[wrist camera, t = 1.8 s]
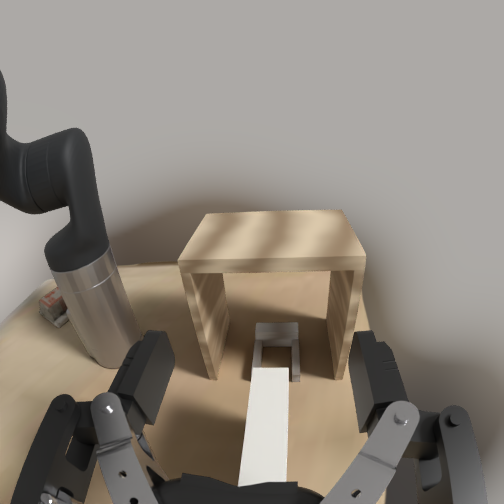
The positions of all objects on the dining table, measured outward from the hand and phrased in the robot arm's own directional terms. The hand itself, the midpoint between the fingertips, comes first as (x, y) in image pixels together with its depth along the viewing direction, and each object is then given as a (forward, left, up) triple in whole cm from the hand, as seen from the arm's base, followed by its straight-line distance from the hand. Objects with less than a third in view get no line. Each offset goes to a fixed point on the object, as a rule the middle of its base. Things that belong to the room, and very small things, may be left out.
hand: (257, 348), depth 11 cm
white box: (0, +1, -22) cm, 22 cm away
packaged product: (-43, +30, -23) cm, 57 cm away
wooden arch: (0, +20, -22) cm, 30 cm away
